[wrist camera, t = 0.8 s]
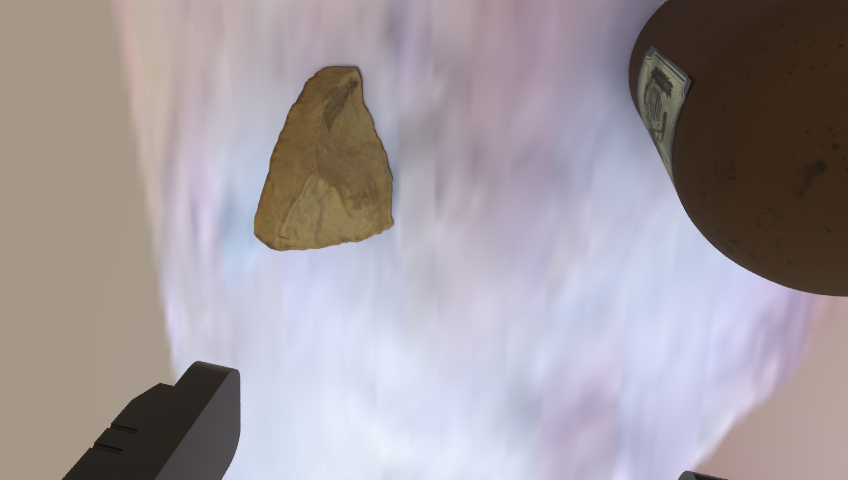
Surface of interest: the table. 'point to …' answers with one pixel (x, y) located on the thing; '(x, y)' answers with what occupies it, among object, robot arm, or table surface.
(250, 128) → the table surface
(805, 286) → the olive oil
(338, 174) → the rock
